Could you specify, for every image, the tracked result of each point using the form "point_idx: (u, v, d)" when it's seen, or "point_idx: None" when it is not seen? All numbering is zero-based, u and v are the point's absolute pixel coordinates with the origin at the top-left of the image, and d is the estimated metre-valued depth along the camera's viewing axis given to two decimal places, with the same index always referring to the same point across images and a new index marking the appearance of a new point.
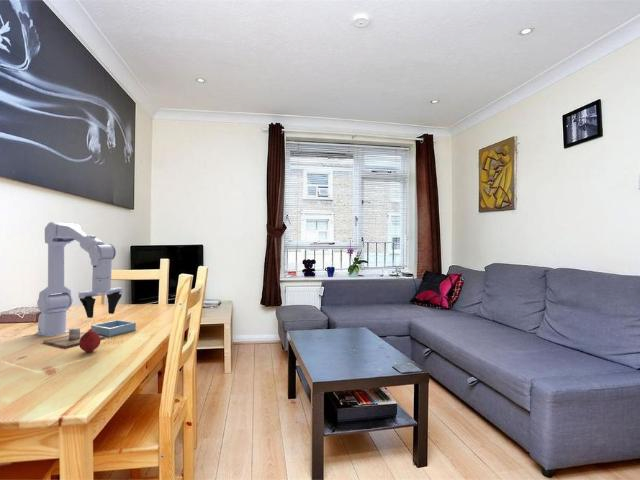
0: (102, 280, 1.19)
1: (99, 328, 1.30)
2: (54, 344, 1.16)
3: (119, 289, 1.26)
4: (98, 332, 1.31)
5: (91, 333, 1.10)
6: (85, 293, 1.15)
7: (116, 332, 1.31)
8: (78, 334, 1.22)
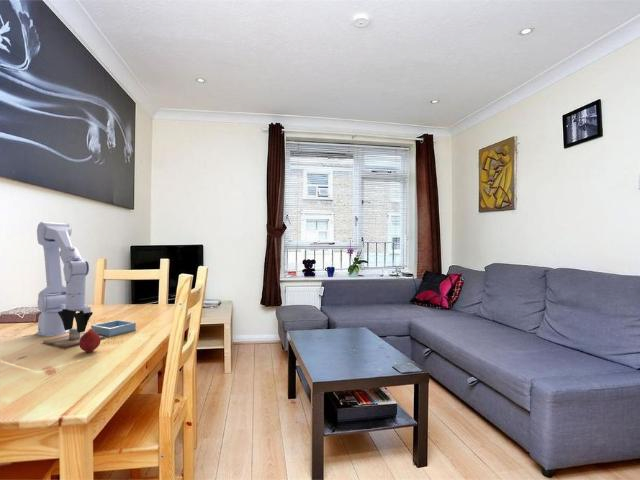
0: (65, 295, 1.21)
1: (99, 328, 1.30)
2: (54, 344, 1.16)
3: (82, 308, 1.19)
4: (98, 332, 1.31)
5: (91, 333, 1.10)
6: (61, 305, 1.24)
7: (116, 332, 1.31)
8: (78, 334, 1.22)
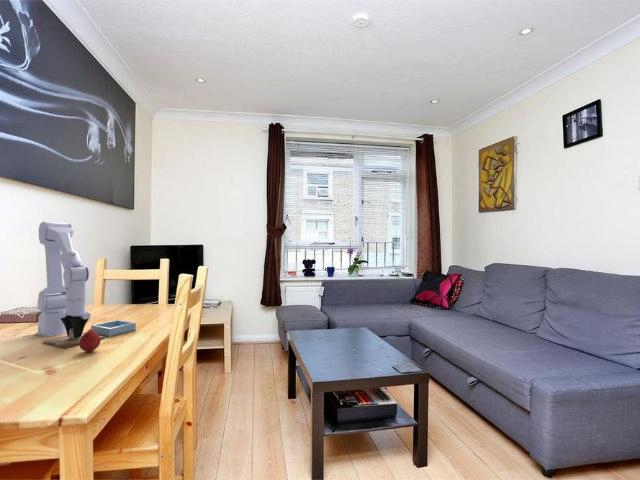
0: (65, 301, 1.21)
1: (99, 328, 1.30)
2: (54, 344, 1.16)
3: (82, 314, 1.19)
4: (98, 332, 1.31)
5: (91, 333, 1.10)
6: (61, 311, 1.24)
7: (116, 332, 1.31)
8: None
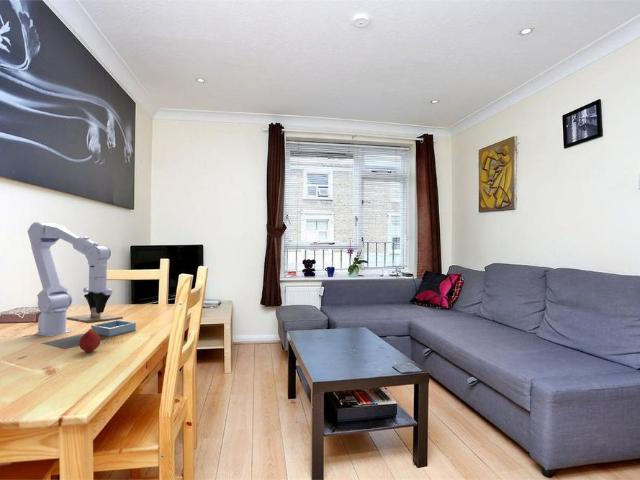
0: None
1: (99, 328, 1.30)
2: (77, 320, 1.23)
3: (104, 291, 1.26)
4: (98, 332, 1.31)
5: (91, 333, 1.10)
6: (84, 288, 1.31)
7: (116, 332, 1.31)
8: (99, 313, 1.29)
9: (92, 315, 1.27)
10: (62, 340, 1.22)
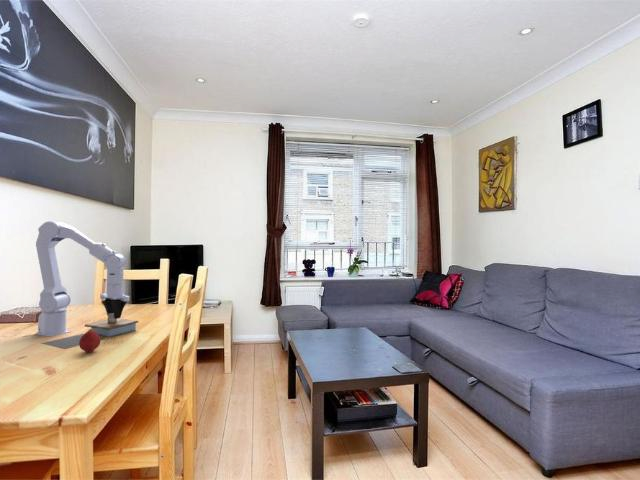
0: None
1: None
2: (96, 327, 1.28)
3: (122, 297, 1.32)
4: (98, 332, 1.31)
5: (91, 333, 1.10)
6: (101, 295, 1.37)
7: (116, 332, 1.31)
8: None
9: (109, 321, 1.33)
10: (62, 340, 1.22)
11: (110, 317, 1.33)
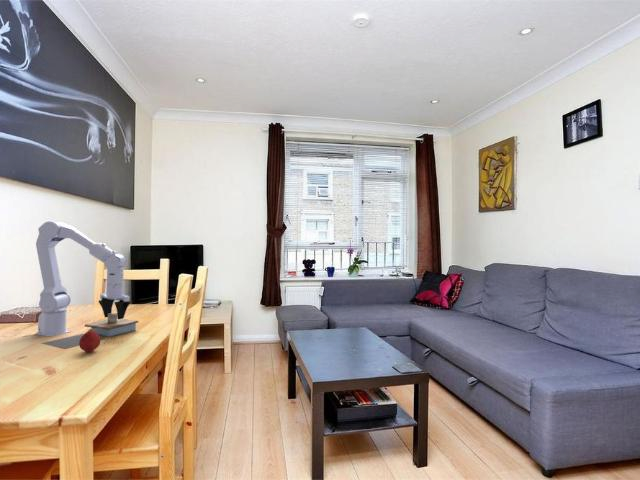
0: None
1: None
2: (96, 327, 1.28)
3: (122, 297, 1.32)
4: (98, 332, 1.31)
5: (91, 333, 1.10)
6: (101, 295, 1.37)
7: (116, 332, 1.31)
8: (116, 318, 1.34)
9: (109, 321, 1.33)
10: (62, 340, 1.22)
11: (110, 317, 1.33)
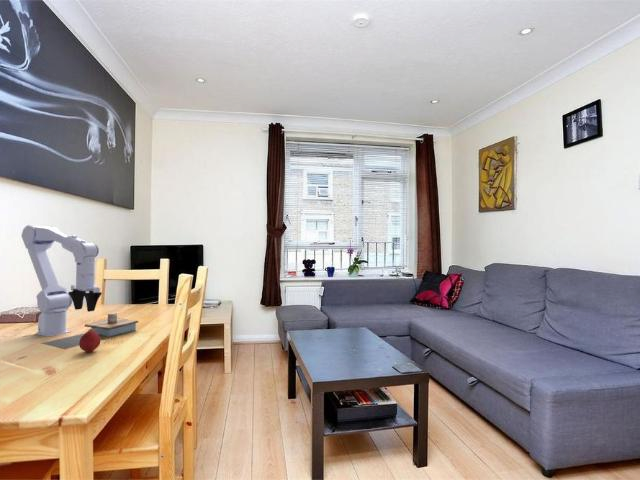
0: (76, 276, 1.26)
1: None
2: (96, 327, 1.28)
3: (92, 288, 1.25)
4: (98, 332, 1.31)
5: (91, 333, 1.10)
6: (72, 286, 1.30)
7: (116, 332, 1.31)
8: (116, 318, 1.34)
9: (109, 321, 1.33)
10: (62, 340, 1.22)
11: (110, 317, 1.33)
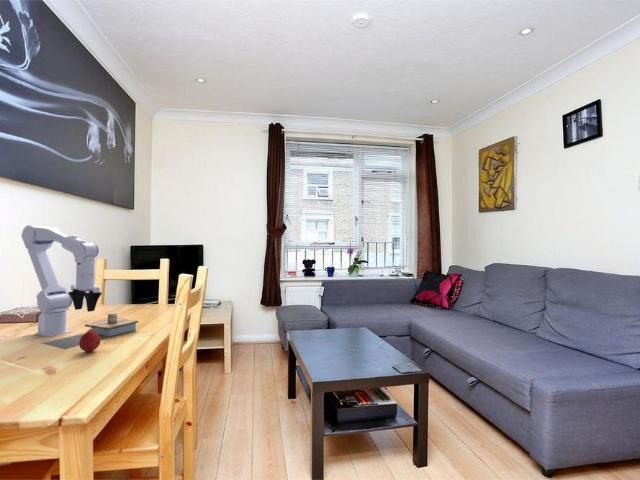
0: (76, 276, 1.26)
1: None
2: (96, 327, 1.28)
3: (92, 288, 1.25)
4: (98, 332, 1.31)
5: (91, 333, 1.10)
6: (72, 286, 1.30)
7: (116, 332, 1.31)
8: (116, 318, 1.34)
9: (109, 321, 1.33)
10: (62, 340, 1.22)
11: (110, 317, 1.33)
